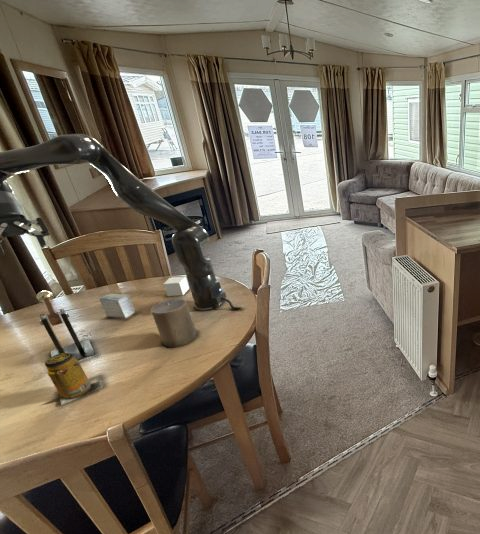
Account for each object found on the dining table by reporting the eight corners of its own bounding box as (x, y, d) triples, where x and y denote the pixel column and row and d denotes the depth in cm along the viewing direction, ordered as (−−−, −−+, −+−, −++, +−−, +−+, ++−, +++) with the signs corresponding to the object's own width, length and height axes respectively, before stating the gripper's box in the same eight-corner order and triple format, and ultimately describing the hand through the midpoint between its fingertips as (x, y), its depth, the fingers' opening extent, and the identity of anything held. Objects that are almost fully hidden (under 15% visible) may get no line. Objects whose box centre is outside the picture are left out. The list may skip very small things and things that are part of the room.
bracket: (51, 354, 109) (28, 312, 103) (89, 341, 116) (70, 301, 109) (56, 371, 102) (31, 327, 96) (96, 356, 109) (76, 315, 102)
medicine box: (137, 314, 132) (129, 294, 128) (126, 320, 128) (118, 300, 124) (118, 312, 132) (110, 293, 129) (107, 318, 128) (98, 298, 125)
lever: (37, 298, 108) (33, 290, 106) (53, 294, 110) (49, 286, 108) (49, 328, 103) (45, 320, 100) (66, 323, 105) (62, 315, 103)
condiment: (58, 392, 95) (39, 358, 90) (99, 376, 101) (82, 343, 96) (61, 405, 91) (41, 371, 86) (103, 388, 97) (86, 354, 92)
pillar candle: (202, 335, 120) (191, 299, 114) (172, 351, 112) (158, 312, 106) (187, 327, 124) (175, 292, 118) (157, 341, 116) (142, 304, 110)
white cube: (189, 288, 151) (185, 276, 149) (183, 295, 146) (179, 282, 144) (173, 289, 150) (169, 277, 148) (167, 296, 145) (163, 283, 142)
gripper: (-37, 205, 103) (-17, 250, 101) (33, 198, 113) (52, 239, 111) (-27, 218, 108) (-8, 261, 106) (38, 211, 118) (57, 249, 116)
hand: (23, 250), depth 109 cm, fingers open, 8 cm apart
